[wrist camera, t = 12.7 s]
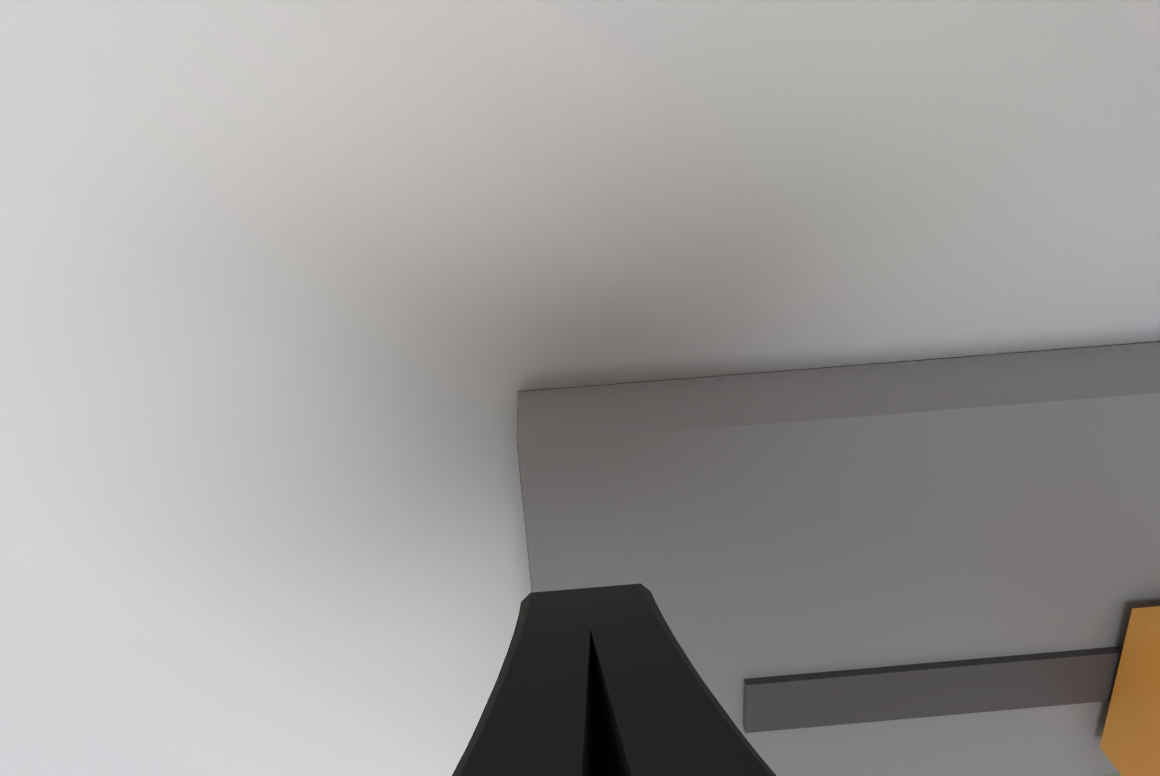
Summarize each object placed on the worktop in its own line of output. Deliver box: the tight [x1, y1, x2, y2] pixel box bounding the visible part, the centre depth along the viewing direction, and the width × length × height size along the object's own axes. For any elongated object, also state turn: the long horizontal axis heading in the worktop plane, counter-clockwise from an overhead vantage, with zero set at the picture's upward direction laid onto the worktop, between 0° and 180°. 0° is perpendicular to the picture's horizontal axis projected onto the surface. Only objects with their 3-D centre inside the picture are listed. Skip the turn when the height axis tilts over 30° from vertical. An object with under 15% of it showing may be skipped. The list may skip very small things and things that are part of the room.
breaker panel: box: [517, 342, 1160, 776], centre depth 21 cm, size 18×14×3 cm
